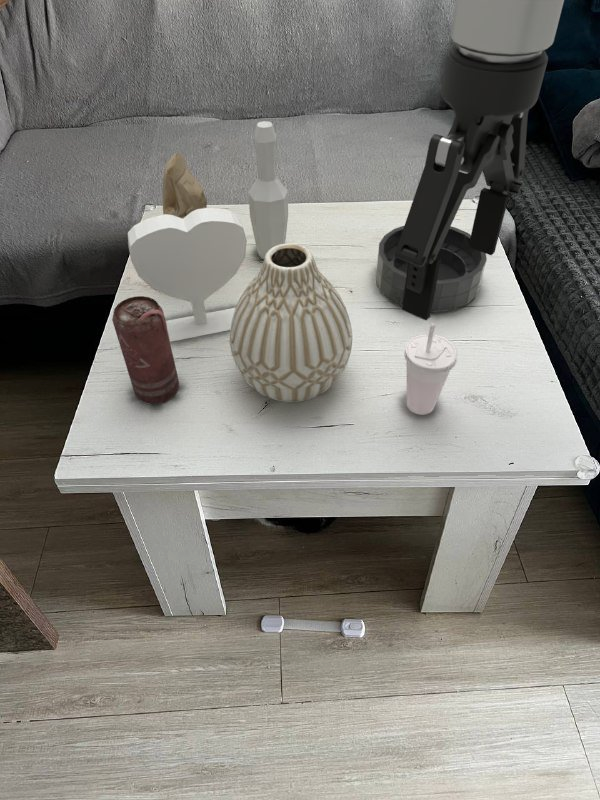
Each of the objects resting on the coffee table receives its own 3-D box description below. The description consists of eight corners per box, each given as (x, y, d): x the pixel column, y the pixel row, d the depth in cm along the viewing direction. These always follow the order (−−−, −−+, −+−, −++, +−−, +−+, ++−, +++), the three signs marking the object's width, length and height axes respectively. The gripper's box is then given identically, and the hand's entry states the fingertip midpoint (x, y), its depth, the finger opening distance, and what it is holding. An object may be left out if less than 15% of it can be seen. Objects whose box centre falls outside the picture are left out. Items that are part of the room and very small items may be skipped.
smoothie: (387, 396, 81) (399, 314, 71) (427, 381, 83) (444, 300, 73) (412, 428, 77) (429, 347, 67) (454, 412, 79) (476, 331, 69)
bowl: (497, 280, 99) (506, 248, 94) (440, 329, 91) (447, 297, 86) (414, 242, 106) (419, 212, 102) (355, 284, 98) (357, 253, 94)
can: (179, 405, 80) (161, 324, 70) (132, 407, 80) (106, 326, 70) (183, 373, 84) (166, 292, 74) (137, 375, 84) (114, 294, 74)
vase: (213, 370, 85) (193, 248, 70) (303, 326, 91) (302, 205, 77) (278, 440, 76) (271, 317, 61) (373, 386, 82) (387, 262, 68)
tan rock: (206, 299, 96) (188, 180, 81) (162, 295, 97) (136, 177, 82) (225, 254, 105) (212, 139, 90) (185, 250, 105) (165, 136, 91)
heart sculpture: (247, 305, 95) (237, 199, 82) (254, 325, 92) (245, 218, 78) (148, 324, 92) (121, 218, 79) (152, 345, 89) (125, 238, 75)
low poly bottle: (287, 241, 107) (283, 114, 91) (291, 261, 103) (288, 132, 87) (251, 243, 107) (241, 116, 91) (254, 264, 102) (244, 134, 86)
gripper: (521, 1, 54) (474, 216, 69) (364, 84, 40) (349, 328, 56) (605, 15, 50) (536, 238, 66) (465, 111, 37) (419, 361, 53)
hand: (450, 279), depth 61 cm, fingers open, 13 cm apart
